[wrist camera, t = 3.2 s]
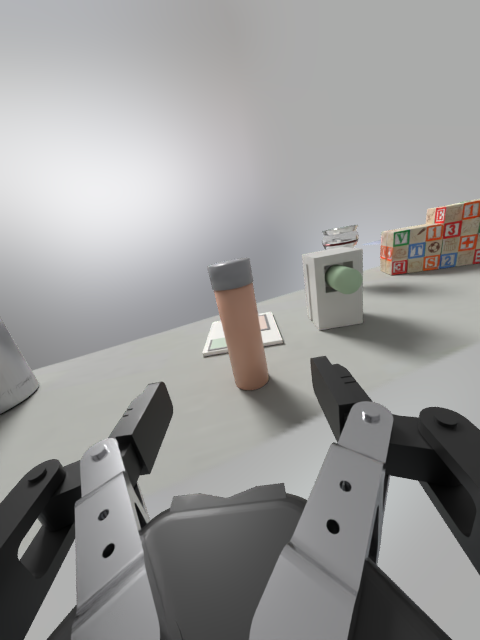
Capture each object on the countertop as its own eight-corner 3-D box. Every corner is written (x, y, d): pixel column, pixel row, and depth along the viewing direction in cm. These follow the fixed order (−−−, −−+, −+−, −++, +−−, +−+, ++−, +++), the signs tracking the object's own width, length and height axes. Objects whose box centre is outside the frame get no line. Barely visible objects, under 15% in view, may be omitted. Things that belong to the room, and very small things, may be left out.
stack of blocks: (391, 276, 50) (393, 216, 46) (379, 271, 56) (380, 217, 52) (509, 259, 46) (524, 191, 42) (484, 255, 51) (494, 195, 47)
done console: (319, 330, 32) (313, 258, 29) (307, 316, 38) (302, 254, 34) (362, 323, 32) (362, 249, 28) (344, 309, 37) (342, 246, 34)
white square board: (203, 356, 31) (202, 352, 31) (213, 324, 43) (212, 321, 42) (282, 343, 31) (282, 339, 30) (271, 314, 42) (271, 311, 42)
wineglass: (357, 281, 51) (356, 224, 47) (360, 289, 45) (360, 225, 41) (325, 284, 54) (322, 230, 50) (324, 292, 48) (320, 232, 44)
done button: (336, 296, 27) (335, 271, 26) (325, 289, 31) (323, 267, 30) (362, 291, 27) (362, 266, 26) (347, 284, 31) (347, 262, 30)
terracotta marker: (234, 393, 23) (204, 269, 19) (235, 372, 26) (210, 264, 22) (271, 387, 22) (250, 260, 18) (267, 366, 26) (248, 256, 22)
